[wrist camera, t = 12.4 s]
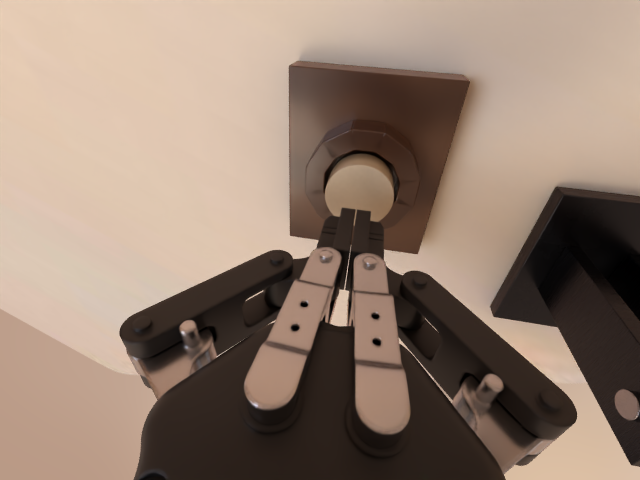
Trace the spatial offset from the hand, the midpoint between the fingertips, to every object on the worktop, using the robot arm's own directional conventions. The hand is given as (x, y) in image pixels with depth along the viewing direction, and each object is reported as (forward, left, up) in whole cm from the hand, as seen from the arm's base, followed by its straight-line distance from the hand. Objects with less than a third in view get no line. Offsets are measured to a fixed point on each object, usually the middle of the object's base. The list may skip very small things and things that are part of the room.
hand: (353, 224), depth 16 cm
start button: (0, 0, -4) cm, 5 cm away
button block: (0, 0, -8) cm, 8 cm away
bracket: (+14, +12, -8) cm, 20 cm away
